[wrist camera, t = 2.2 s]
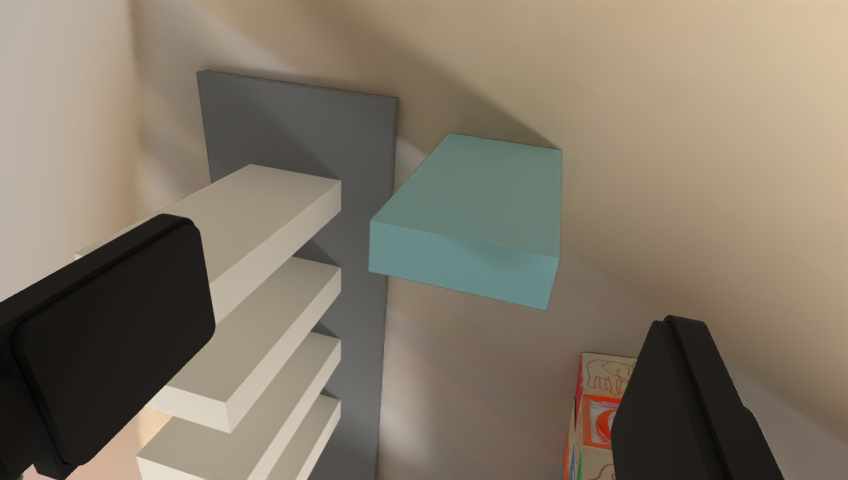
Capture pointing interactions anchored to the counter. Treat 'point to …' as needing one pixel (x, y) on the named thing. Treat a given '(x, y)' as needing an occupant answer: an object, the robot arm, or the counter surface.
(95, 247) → the domino
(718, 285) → the counter surface
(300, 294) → the domino
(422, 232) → the domino
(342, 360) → the domino mat
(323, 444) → the domino
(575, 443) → the stack of blocks
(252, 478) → the domino
